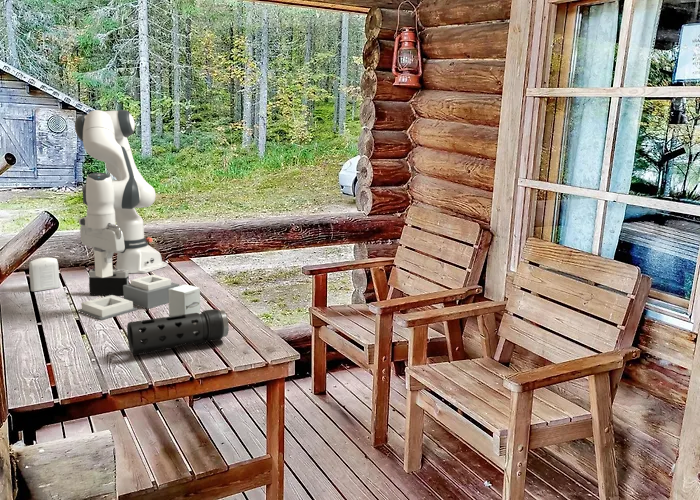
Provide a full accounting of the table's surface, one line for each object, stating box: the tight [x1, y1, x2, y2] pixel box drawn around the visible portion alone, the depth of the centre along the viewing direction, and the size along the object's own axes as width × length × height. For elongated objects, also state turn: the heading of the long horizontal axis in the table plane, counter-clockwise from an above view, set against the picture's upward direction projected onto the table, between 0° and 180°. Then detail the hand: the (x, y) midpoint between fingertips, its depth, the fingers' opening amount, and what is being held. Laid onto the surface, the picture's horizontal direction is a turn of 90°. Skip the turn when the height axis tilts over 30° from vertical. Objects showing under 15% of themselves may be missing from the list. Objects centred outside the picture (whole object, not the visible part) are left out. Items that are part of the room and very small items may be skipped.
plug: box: [93, 247, 114, 278], centre depth 202 cm, size 4×4×10 cm
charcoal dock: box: [123, 274, 180, 310], centre depth 218 cm, size 14×14×8 cm
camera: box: [88, 267, 130, 297], centre depth 225 cm, size 14×9×10 cm, turn 88°
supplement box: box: [168, 283, 201, 317], centre depth 195 cm, size 7×7×13 cm
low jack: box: [77, 295, 138, 321], centre depth 206 cm, size 14×14×3 cm
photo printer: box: [28, 257, 60, 292], centre depth 227 cm, size 10×4×12 cm, turn 134°
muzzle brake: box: [126, 308, 230, 356], centre depth 176 cm, size 10×28×10 cm, turn 121°
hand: (103, 261), depth 202 cm, fingers closed on plug, 4 cm apart
